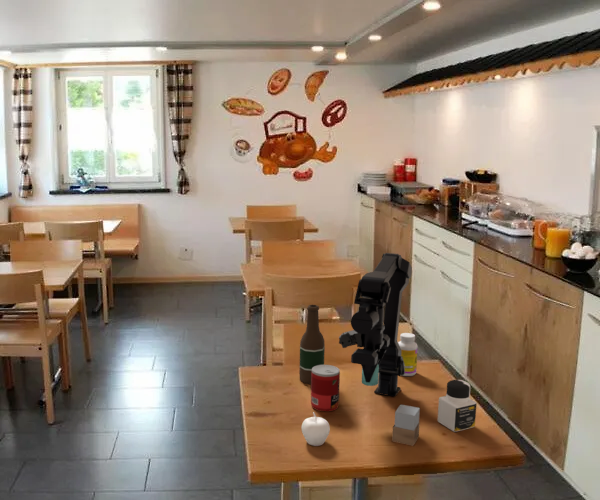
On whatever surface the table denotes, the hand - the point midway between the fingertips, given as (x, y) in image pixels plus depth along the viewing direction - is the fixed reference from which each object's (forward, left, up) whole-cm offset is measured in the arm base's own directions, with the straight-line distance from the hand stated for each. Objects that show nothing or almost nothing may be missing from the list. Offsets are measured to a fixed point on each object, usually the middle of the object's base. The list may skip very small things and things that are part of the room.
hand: (370, 378), depth 174 cm
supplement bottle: (-38, 0, -12) cm, 39 cm away
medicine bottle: (-8, +22, -12) cm, 26 cm away
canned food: (-3, -14, -12) cm, 18 cm away
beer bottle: (-19, -25, -12) cm, 33 cm away
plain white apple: (+18, -8, -12) cm, 23 cm away
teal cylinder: (0, 0, -1) cm, 1 cm away
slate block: (+6, +12, -8) cm, 16 cm away
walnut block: (+6, +12, -12) cm, 18 cm away
